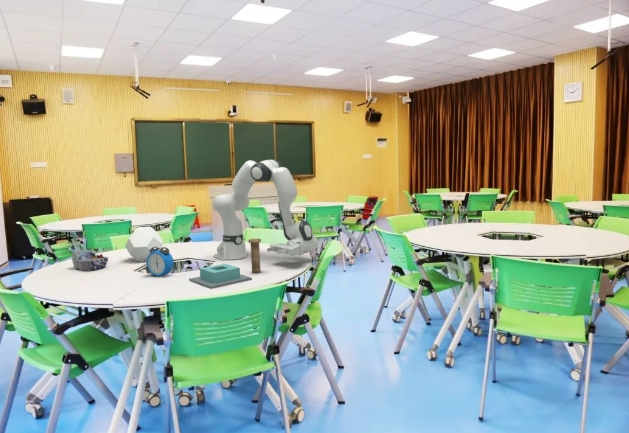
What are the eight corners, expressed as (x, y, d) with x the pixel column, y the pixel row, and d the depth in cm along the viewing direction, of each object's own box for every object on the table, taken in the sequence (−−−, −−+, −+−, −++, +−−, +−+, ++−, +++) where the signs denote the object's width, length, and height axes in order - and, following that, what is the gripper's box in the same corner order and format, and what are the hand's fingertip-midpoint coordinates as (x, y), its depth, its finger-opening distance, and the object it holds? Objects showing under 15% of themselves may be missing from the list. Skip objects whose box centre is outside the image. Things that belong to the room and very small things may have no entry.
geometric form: (140, 265, 263) (137, 230, 261) (121, 261, 275) (119, 228, 273) (169, 258, 279) (167, 226, 277) (151, 255, 291) (148, 224, 289)
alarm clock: (147, 276, 235) (144, 247, 233) (155, 273, 241) (153, 245, 239) (167, 277, 230) (164, 248, 228) (175, 274, 236) (173, 246, 234)
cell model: (85, 247, 267) (110, 249, 259) (86, 265, 268) (111, 267, 260) (65, 251, 255) (91, 253, 247) (67, 269, 256) (92, 273, 248)
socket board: (189, 280, 222) (188, 268, 222) (228, 272, 237) (227, 261, 236) (211, 288, 206) (210, 275, 205) (251, 279, 220) (251, 267, 219)
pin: (247, 272, 235) (246, 239, 233) (257, 270, 239) (256, 238, 237) (254, 274, 230) (252, 241, 228) (264, 272, 234) (263, 239, 233)
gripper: (281, 239, 257) (261, 243, 248) (304, 243, 242) (284, 247, 233) (281, 250, 258) (261, 254, 249) (305, 255, 243) (284, 259, 234)
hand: (272, 251), depth 241 cm, fingers open, 8 cm apart
